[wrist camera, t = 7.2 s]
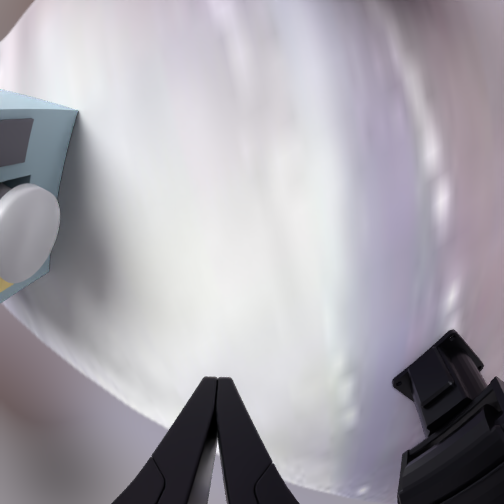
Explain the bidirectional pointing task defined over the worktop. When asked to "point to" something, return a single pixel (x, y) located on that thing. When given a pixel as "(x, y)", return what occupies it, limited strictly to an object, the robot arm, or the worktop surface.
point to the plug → (26, 230)
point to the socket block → (32, 153)
